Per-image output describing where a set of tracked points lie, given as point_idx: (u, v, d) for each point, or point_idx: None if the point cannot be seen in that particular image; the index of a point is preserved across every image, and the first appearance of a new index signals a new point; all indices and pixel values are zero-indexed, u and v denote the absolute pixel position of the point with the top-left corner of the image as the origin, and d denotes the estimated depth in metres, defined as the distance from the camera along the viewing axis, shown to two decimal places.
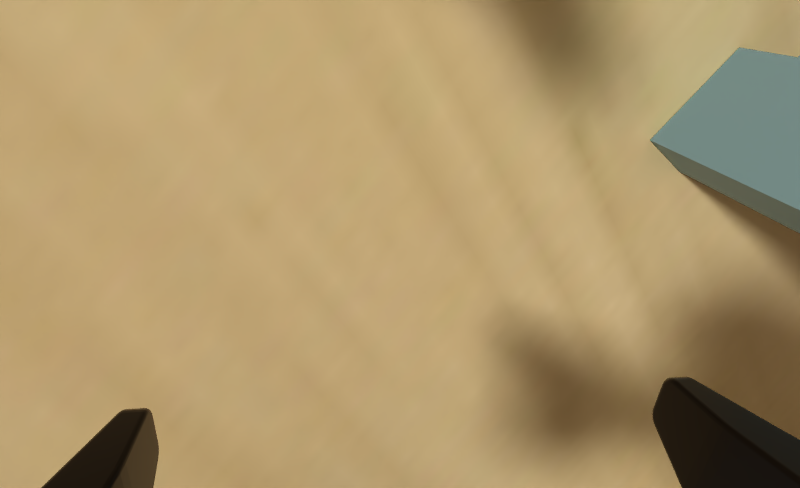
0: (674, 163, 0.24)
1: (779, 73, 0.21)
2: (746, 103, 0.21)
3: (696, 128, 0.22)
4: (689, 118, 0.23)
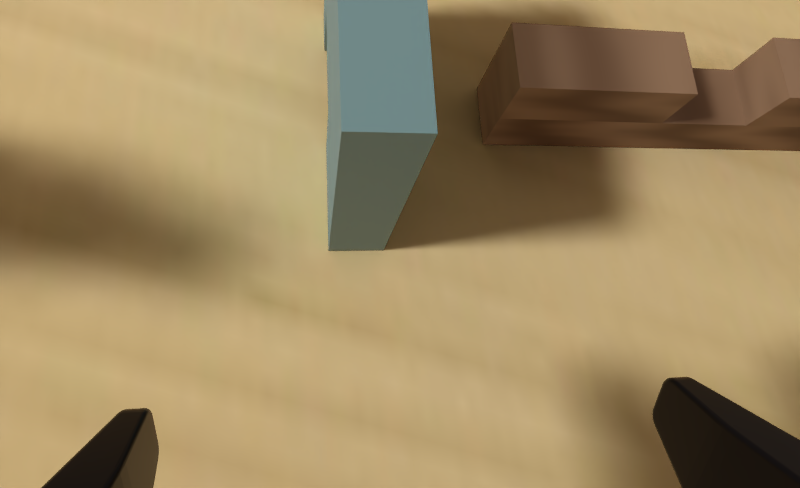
0: (365, 248, 0.24)
1: (328, 130, 0.22)
2: (329, 164, 0.22)
3: (329, 211, 0.23)
4: (328, 211, 0.23)
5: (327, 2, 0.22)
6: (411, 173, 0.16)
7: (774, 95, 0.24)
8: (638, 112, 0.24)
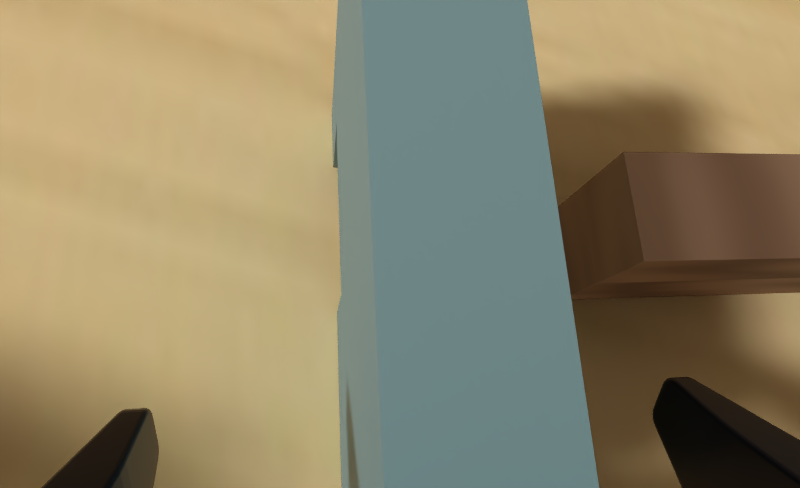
0: None
1: (341, 323, 0.14)
2: (343, 381, 0.14)
3: (343, 444, 0.15)
4: (341, 432, 0.15)
5: (339, 127, 0.14)
6: None
7: None
8: None
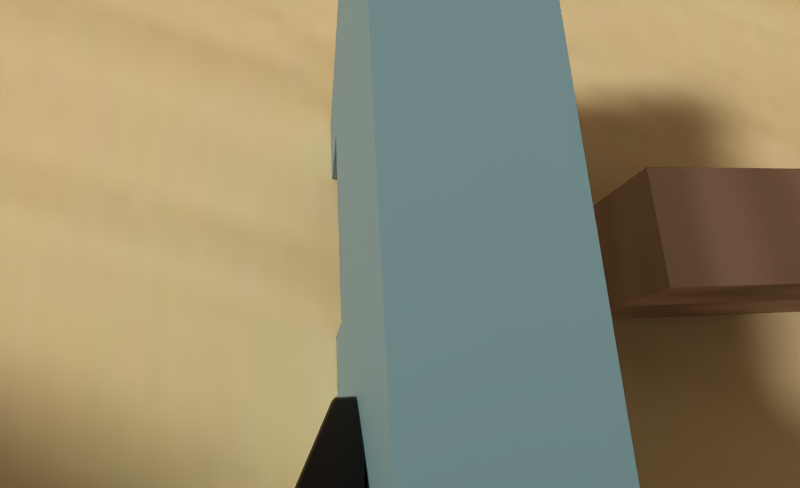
0: None
1: (342, 353, 0.13)
2: None
3: None
4: None
5: (339, 141, 0.13)
6: None
7: None
8: None
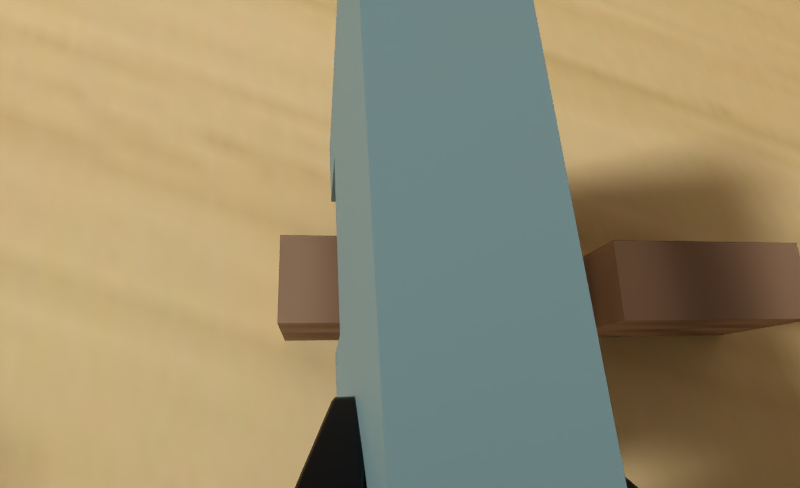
0: None
1: (340, 366, 0.13)
2: None
3: None
4: None
5: (337, 160, 0.14)
6: None
7: (612, 309, 0.21)
8: None
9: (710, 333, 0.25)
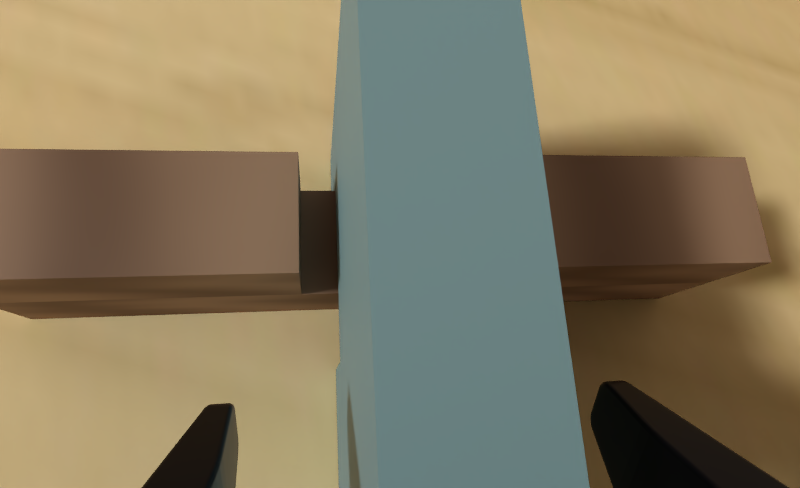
0: None
1: (341, 392, 0.14)
2: (342, 453, 0.14)
3: None
4: None
5: (338, 192, 0.14)
6: None
7: None
8: (231, 289, 0.14)
9: (640, 295, 0.18)
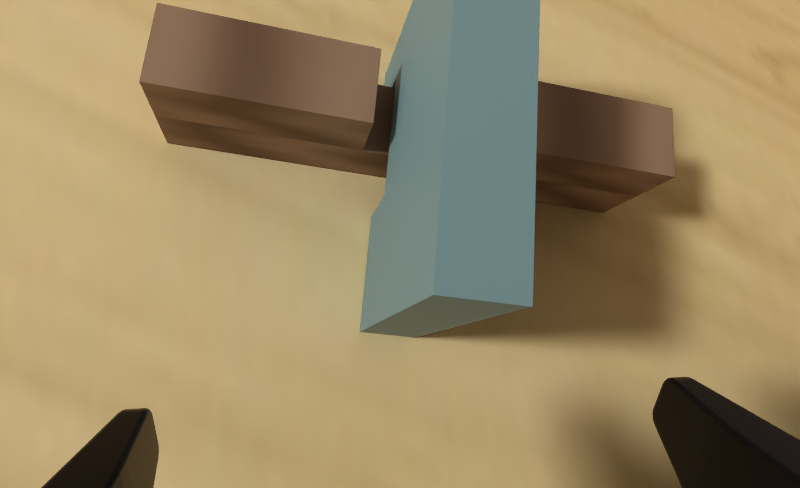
0: (398, 334, 0.23)
1: (382, 214, 0.21)
2: (378, 251, 0.21)
3: (369, 297, 0.21)
4: (367, 292, 0.22)
5: (402, 81, 0.21)
6: (483, 316, 0.15)
7: None
8: (321, 133, 0.21)
9: (590, 205, 0.26)
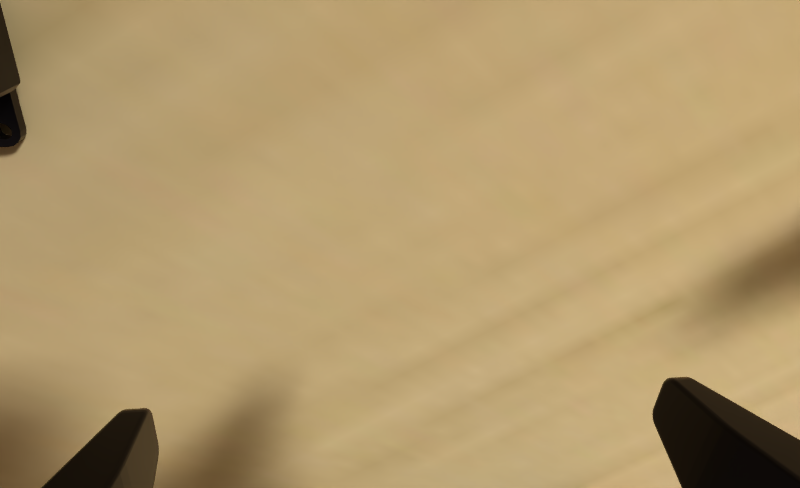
0: None
1: None
2: None
3: None
4: None
5: None
6: None
7: None
8: None
9: None
